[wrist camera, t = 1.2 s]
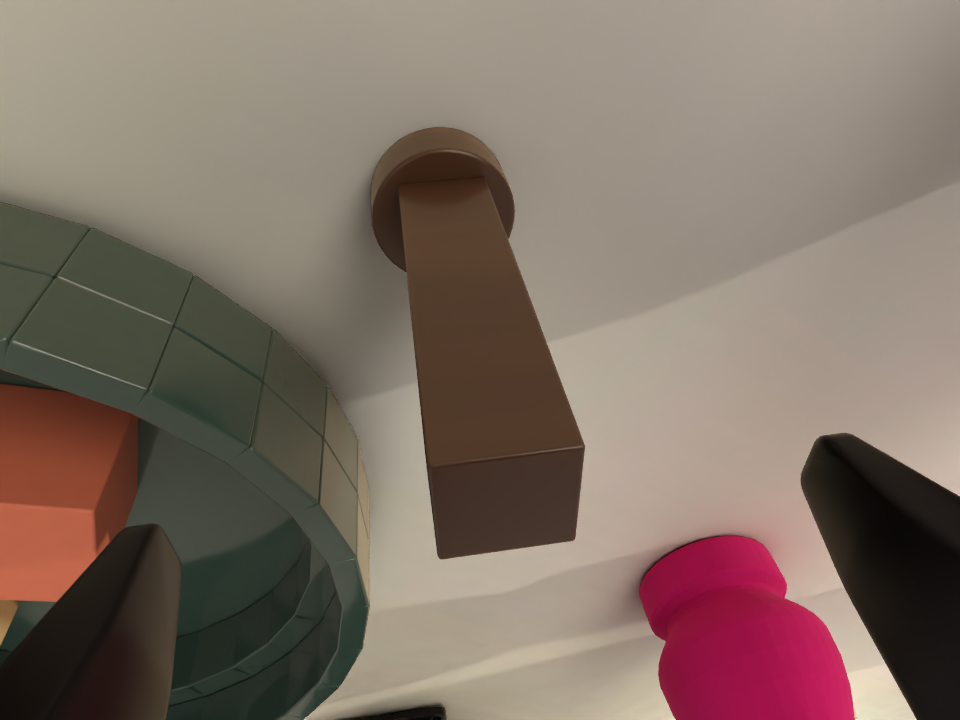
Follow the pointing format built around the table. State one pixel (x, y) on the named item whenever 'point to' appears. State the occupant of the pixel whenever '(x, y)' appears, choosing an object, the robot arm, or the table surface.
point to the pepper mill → (740, 638)
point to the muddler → (477, 350)
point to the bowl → (204, 462)
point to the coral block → (60, 487)
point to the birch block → (7, 615)
